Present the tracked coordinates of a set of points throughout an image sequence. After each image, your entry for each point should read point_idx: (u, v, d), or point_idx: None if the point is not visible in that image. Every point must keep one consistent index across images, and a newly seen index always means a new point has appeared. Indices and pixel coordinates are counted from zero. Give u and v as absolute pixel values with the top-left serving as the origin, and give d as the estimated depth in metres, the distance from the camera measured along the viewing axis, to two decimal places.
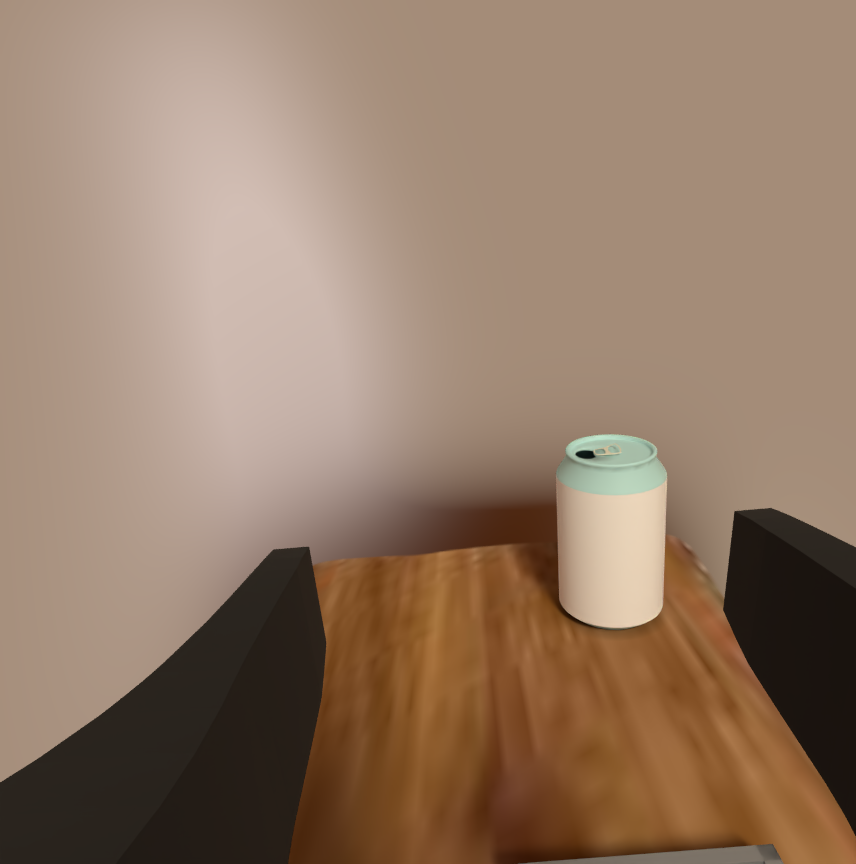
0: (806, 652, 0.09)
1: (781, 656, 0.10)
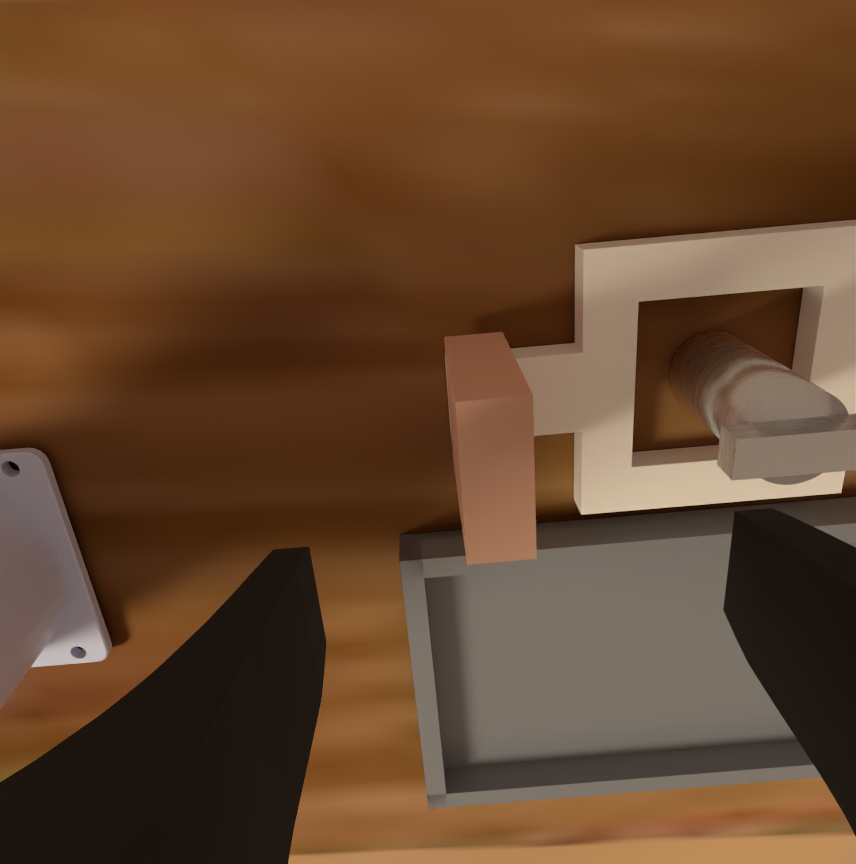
0: (806, 652, 0.09)
1: (781, 656, 0.10)
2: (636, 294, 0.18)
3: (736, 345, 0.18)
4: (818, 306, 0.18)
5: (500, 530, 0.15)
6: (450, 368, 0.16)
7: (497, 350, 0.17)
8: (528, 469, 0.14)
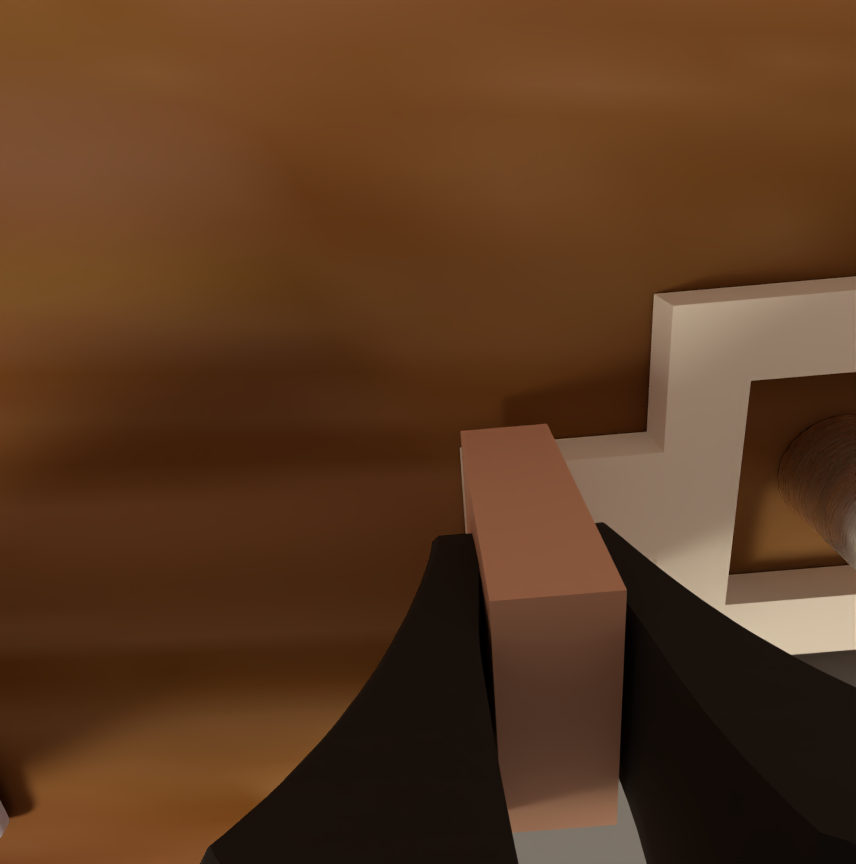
0: None
1: None
2: (748, 370, 0.12)
3: None
4: None
5: (559, 786, 0.09)
6: (474, 506, 0.10)
7: (544, 466, 0.11)
8: (611, 701, 0.08)
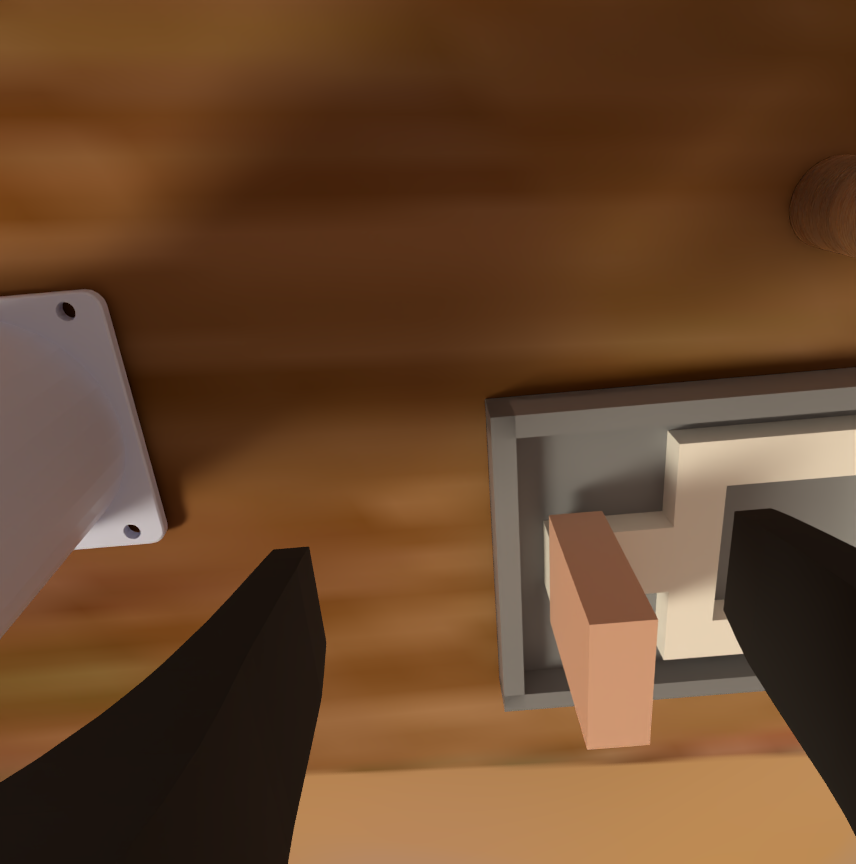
0: (806, 652, 0.09)
1: (781, 656, 0.10)
2: (725, 479, 0.20)
3: None
4: None
5: (619, 723, 0.17)
6: (569, 569, 0.18)
7: (605, 543, 0.19)
8: (649, 676, 0.16)
